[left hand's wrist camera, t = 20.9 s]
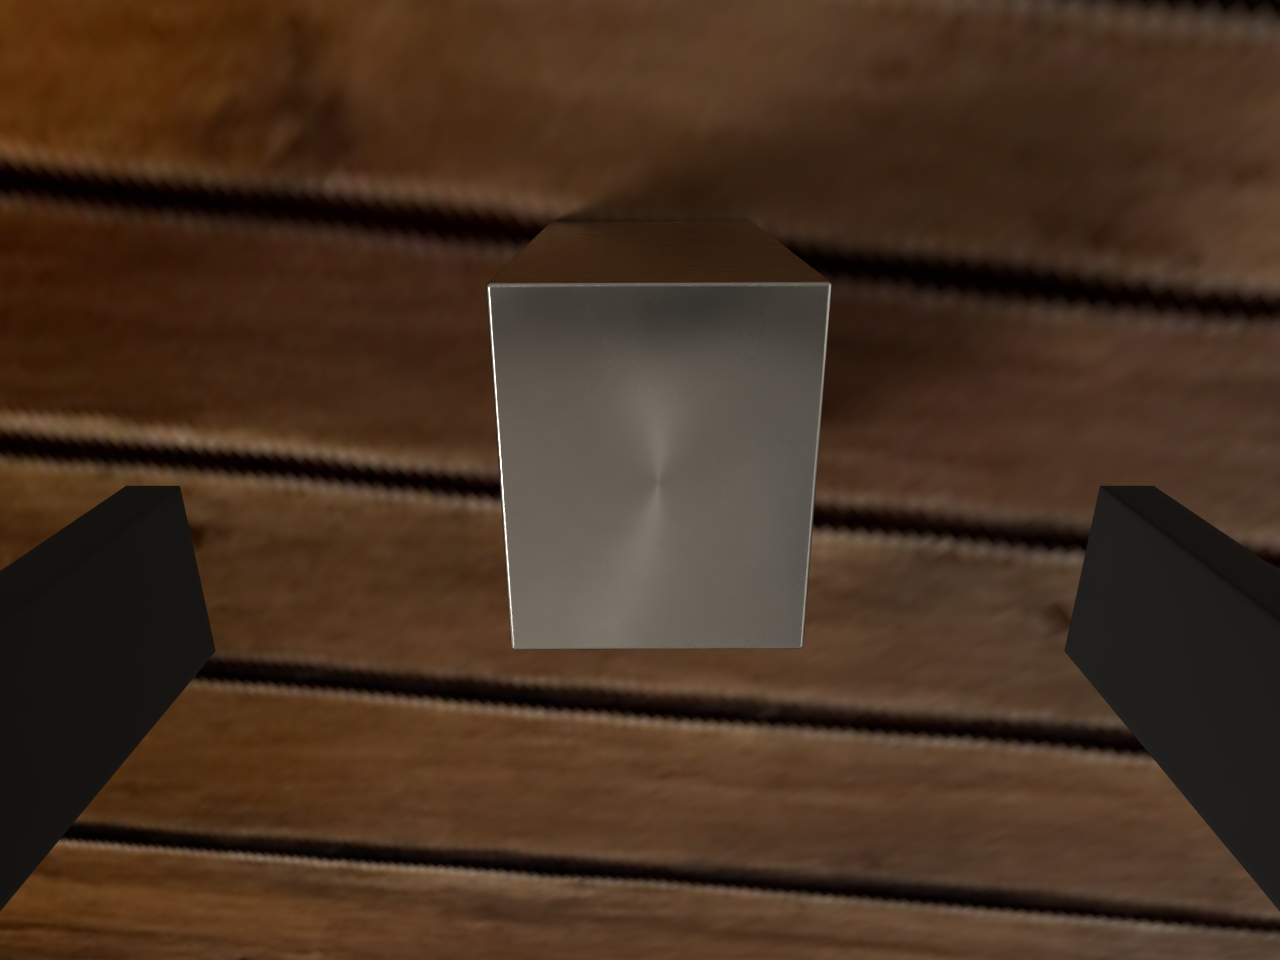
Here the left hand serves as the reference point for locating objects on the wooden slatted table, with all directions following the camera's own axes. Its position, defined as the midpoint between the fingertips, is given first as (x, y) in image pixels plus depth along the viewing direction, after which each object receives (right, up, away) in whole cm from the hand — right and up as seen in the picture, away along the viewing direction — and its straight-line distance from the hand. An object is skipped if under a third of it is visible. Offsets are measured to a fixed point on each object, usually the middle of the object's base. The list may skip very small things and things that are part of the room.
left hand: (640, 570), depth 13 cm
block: (0, +6, +15) cm, 16 cm away
